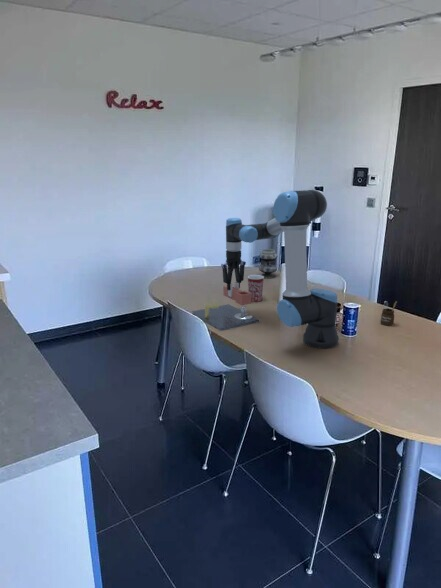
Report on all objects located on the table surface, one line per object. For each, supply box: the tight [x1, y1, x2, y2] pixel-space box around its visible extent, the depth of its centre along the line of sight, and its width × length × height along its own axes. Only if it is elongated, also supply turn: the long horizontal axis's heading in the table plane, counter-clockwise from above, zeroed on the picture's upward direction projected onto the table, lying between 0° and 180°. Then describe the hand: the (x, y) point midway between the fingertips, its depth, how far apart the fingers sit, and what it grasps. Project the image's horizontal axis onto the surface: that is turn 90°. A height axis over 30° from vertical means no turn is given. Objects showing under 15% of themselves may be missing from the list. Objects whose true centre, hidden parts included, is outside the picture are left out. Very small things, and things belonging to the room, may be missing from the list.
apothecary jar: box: [258, 248, 278, 279], centre depth 301 cm, size 12×12×18 cm
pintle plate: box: [192, 304, 260, 331], centre depth 228 cm, size 28×22×1 cm
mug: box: [247, 274, 265, 303], centre depth 255 cm, size 13×9×14 cm
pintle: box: [240, 305, 247, 317], centre depth 226 cm, size 2×2×5 cm
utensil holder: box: [380, 300, 398, 327], centre depth 217 cm, size 6×6×12 cm
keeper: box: [203, 301, 220, 319], centre depth 224 cm, size 7×6×8 cm
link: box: [222, 284, 252, 306], centre depth 229 cm, size 19×6×5 cm, turn 31°
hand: (233, 295), depth 231 cm, fingers closed on link, 3 cm apart
